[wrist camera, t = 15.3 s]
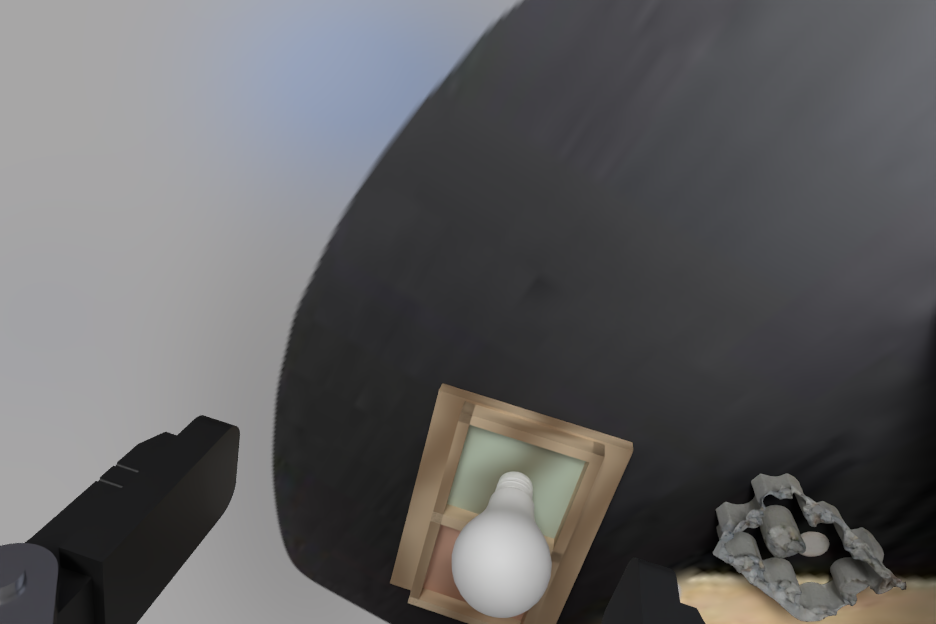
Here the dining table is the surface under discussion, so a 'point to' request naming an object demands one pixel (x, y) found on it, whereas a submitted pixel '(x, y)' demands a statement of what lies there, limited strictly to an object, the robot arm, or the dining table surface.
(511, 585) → the lightbulb
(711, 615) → the dining table surface
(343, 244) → the dining table surface
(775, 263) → the dining table surface
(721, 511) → the egg carton
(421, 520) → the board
